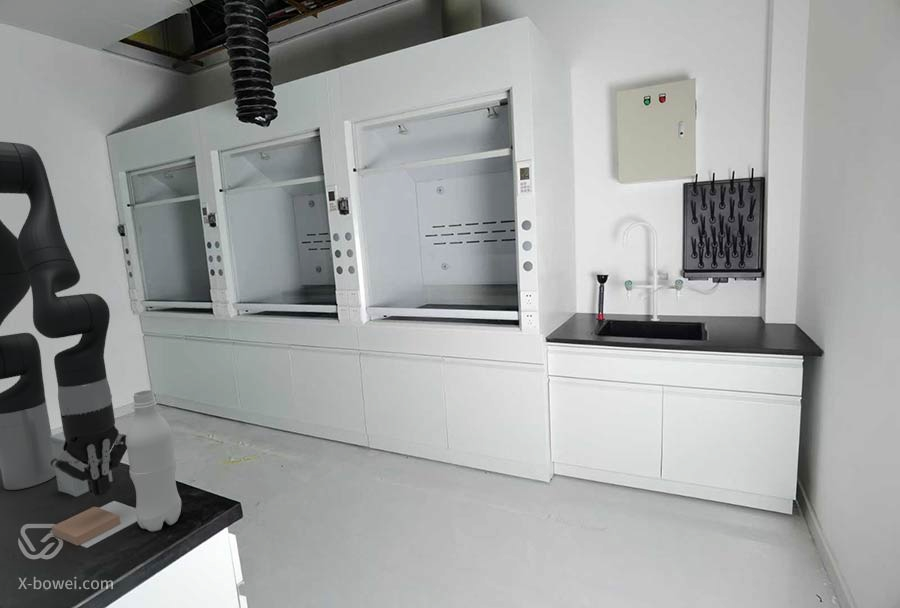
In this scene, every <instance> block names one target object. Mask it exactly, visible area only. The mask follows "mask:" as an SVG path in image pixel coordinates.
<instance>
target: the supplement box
mask: <svg viewBox="0 0 900 608" xmlns="http://www.w3.org/2000/svg"><path fill="white" fill-rule="evenodd" d="M50 440H51V446H52V452H53V458H54V459H57V458H58V457H59V456H60V455H61V454H62V453H63V452H64V450H63V446H64V444H65V437H64V432H63V431H60V432H57V433H54V434H52V435H51V436H50ZM70 459H71V460H72V464H70V465H72V466H74V467H75V468H77V469H79V470H81V471H83V467H82V466H81V465H80V461H78V460H76V459H75V458H73V457H72V456H70ZM55 471H56V482H57V490H58V492H62V493H66V494H69V495H71V496H73V497H76V498H77V497H79V496H81V495H84V494H86V493H88V492H89V487H88V482H87V480H85V481H81V480H79V479H75V478H73V477H71V476H70V475H68V474H66V473H64V472H62V471H60V470H59V469H57V468H55ZM108 476H109V482H113V481H114V480H113V474H112V469H111V470H110V471H109V473H108Z"/></svg>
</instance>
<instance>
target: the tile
mask: <svg viewBox="0 0 900 608" xmlns="http://www.w3.org/2000/svg"><path fill="white" fill-rule="evenodd" d="M119 524H121V523H120V516H119V515H117V514H114V513H111V512H109V511H106V510H103V509H100V507H97V506H92V507H90V508H89V509H86V510H84V511H82V512H80V513H78V514H75V515H74V516H73V515H72V516H71V517H70V518H67V519H65V520H63V521H60V522H59V523H56V524H55V525H52V526H51V531H52V533H51V534H52V536H54V537H56V538H59V539H61V540H64V541H65V542H68V543H70V544H72V545H75V546H76V547H77V546H81V545H80V544H82V543H84V542H86V541H88V540H90V539H92V538H94V537H96V536H98V535H99V534H101V533H103V532H105V531H107V530H109V529H111V528H113V527H115V526H117V525H119Z"/></svg>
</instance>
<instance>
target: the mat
mask: <svg viewBox="0 0 900 608" xmlns="http://www.w3.org/2000/svg"><path fill="white" fill-rule="evenodd" d="M99 508H100V509H103V510H106V511H109V512H111V513H114V514H117V515H119V516H120V523H121V524H119V525H117V526H115V527H113V528H111V529H109V530H107V531H105V532H103V533H101V534H99V535H98V536H96V537H94V538H92V539H90V540H88V541H86V542H84V543H82V544H80V545H79V546H81V547H83V548H86V549H87V548H90V547H92V546H94V545H95V544H97V543H100V542H101V541H103V540H104V539H106V538H108V537H110V536H112V535H114V534H116V533H118V532H120V531H122V530H124V529H125V528H127V527H129V526H131V525H133V524H135V523H136V522H137V518H136V513H135V510H136V507H133V506H130V505H127V504H124V503H122V502H118V501H115V500H113V501H111V502H109V503H107V504H104V505H102V506H100V507H99ZM137 523H138V522H137ZM49 533H50V534H53V533H52V530H50V531H49Z"/></svg>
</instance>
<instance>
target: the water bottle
mask: <svg viewBox="0 0 900 608" xmlns="http://www.w3.org/2000/svg"><path fill="white" fill-rule="evenodd" d="M132 396H133V397H132V398H133V401H134V402H133V406H132V408H133V409H134V414H133V415H134V416H133V419H132V421H131V423H130V425H129V427H128V430H127V432H126V434H125V435H126V446H127V450H126V451H127V457H128V463H129V478H130V479H131V480H132V482H133V485H134V489H135V494H136V495H135V497H136V504H135V508H136V510H135V513H136V518H137V524H138V525H139V527H140V528H141V529H143V530H144V529H145V530H148V532H156V531H157V532H158V531H160V530H162V528H163V525H164V522H165V523H166V525H169V526H172V525H174V524H175V523H176V522H178V519H179V517H180V515H181V509H182V498H181V497H180V494H179V492H178V488H177V483H176V469H177V459H176V457H175V452H174V442H173V430H172V429H171V425H170V424H169V423H168V422H167V420H166V419H165V418H164V417H163V416H162V415H161V414H160V413H159V410H157V401H156V398H155V394H154V391H153V390H149V389H147V390H141V391H137V392H134V393H133V395H132Z"/></svg>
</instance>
